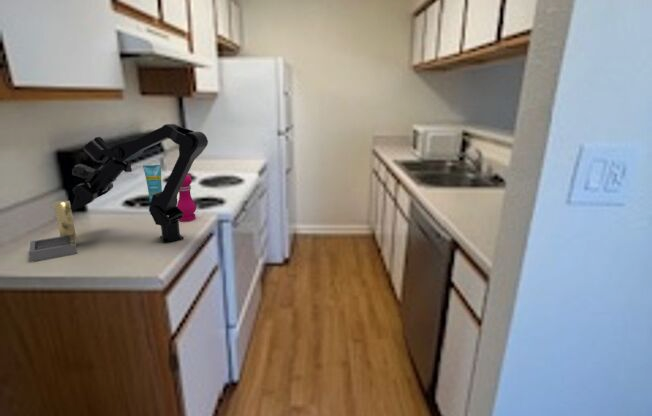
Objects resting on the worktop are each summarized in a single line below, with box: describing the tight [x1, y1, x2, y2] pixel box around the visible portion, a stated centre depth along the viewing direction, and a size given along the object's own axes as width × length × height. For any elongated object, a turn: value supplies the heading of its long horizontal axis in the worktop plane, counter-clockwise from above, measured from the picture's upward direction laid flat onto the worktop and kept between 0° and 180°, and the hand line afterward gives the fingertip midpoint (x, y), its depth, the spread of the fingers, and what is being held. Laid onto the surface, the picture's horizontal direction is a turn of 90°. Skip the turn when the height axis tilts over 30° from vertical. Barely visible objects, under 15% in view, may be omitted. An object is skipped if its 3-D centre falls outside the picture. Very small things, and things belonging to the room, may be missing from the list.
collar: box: [28, 234, 78, 263], centre depth 119 cm, size 11×11×3 cm
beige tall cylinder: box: [53, 200, 77, 240], centre depth 129 cm, size 4×4×13 cm
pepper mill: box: [177, 173, 197, 222], centre depth 150 cm, size 7×7×20 cm
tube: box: [142, 164, 163, 203], centre depth 167 cm, size 7×5×19 cm, turn 103°
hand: (78, 206), depth 128 cm, fingers open, 9 cm apart
